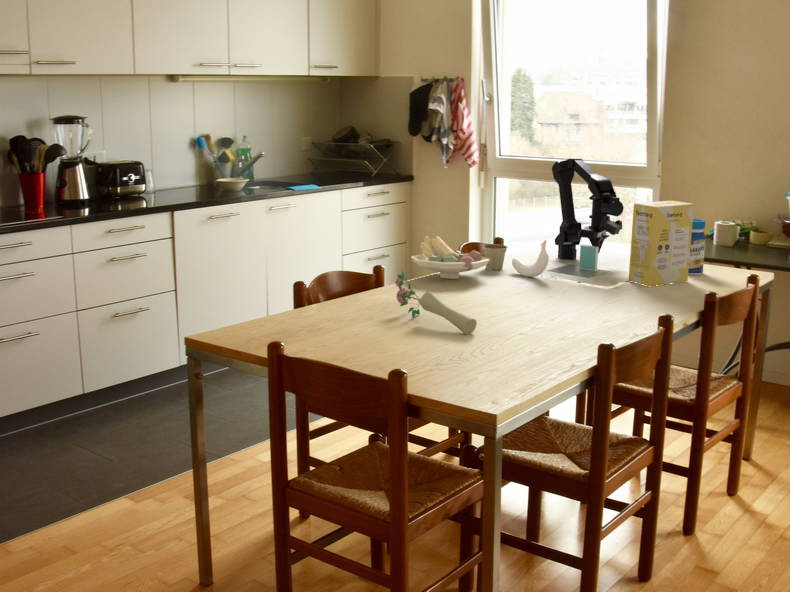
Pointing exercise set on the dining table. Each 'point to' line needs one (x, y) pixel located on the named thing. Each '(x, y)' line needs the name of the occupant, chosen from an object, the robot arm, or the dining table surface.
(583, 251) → the tile
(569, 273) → the slate board
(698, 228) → the beverage bottle
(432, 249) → the dish with food
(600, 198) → the robot arm
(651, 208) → the pasta box
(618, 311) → the dining table surface
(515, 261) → the banana
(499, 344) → the dining table surface
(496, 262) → the flower pot
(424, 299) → the flower vase
